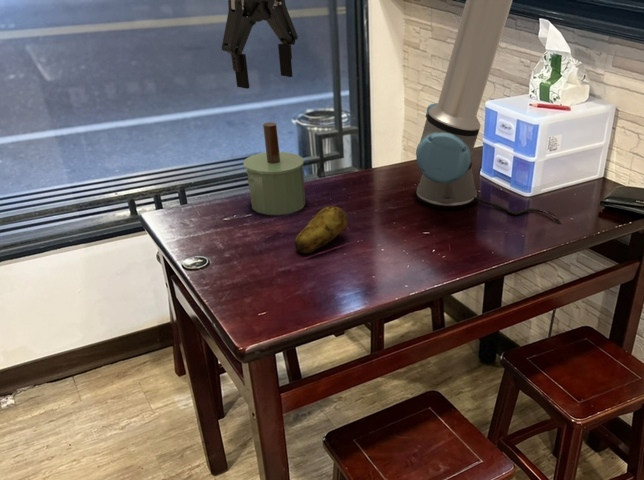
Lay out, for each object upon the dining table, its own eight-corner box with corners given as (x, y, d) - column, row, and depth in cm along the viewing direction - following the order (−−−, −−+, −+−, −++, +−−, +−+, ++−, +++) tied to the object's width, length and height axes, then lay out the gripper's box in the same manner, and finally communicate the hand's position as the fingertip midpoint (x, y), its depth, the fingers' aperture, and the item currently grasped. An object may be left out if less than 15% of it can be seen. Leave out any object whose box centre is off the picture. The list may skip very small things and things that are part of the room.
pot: (315, 208, 148) (312, 165, 142) (269, 221, 141) (264, 177, 135) (287, 192, 155) (283, 151, 150) (242, 204, 148) (236, 162, 142)
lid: (315, 168, 142) (312, 126, 137) (263, 181, 135) (258, 137, 129) (284, 153, 151) (280, 112, 145) (233, 164, 143) (227, 122, 137)
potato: (285, 244, 131) (282, 210, 127) (340, 232, 137) (338, 198, 133) (301, 261, 125) (298, 225, 121) (357, 247, 131) (356, 212, 127)
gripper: (281, -36, 131) (290, 69, 143) (191, -31, 113) (209, 89, 125) (309, -33, 128) (315, 74, 140) (221, -28, 110) (237, 95, 122)
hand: (265, 81), depth 132 cm, fingers open, 13 cm apart
